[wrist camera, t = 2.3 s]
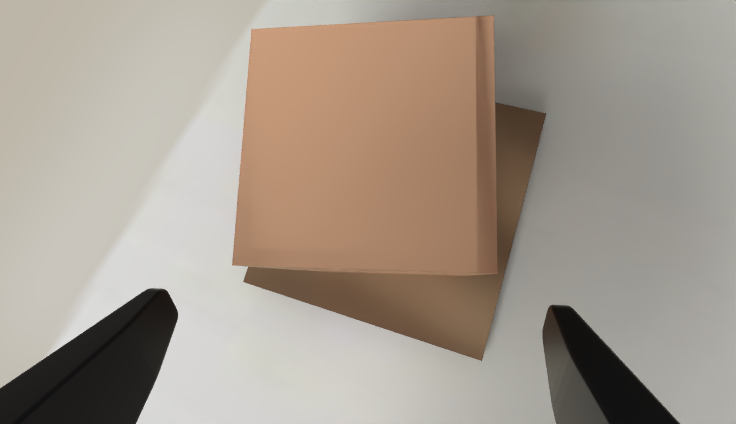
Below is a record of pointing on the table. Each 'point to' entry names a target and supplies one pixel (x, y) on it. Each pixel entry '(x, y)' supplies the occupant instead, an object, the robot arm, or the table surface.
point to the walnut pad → (430, 292)
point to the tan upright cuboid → (370, 149)
